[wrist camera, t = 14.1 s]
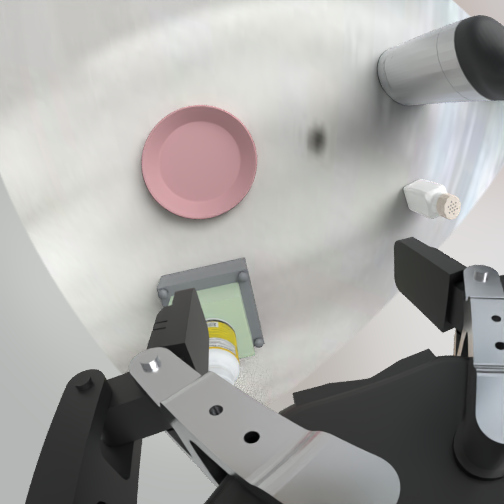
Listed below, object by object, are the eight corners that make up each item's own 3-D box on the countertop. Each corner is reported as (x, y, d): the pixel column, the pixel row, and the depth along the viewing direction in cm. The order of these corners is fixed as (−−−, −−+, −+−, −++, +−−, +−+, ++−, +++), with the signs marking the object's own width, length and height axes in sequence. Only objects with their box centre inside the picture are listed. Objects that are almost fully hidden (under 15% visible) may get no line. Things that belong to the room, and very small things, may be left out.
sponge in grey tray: (244, 257, 43) (250, 282, 36) (261, 328, 48) (268, 361, 40) (161, 276, 43) (151, 303, 36) (186, 343, 47) (181, 377, 40)
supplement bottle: (221, 357, 39) (223, 413, 30) (184, 340, 38) (177, 394, 29) (244, 328, 38) (252, 382, 29) (206, 308, 37) (203, 361, 27)
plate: (170, 91, 35) (168, 89, 33) (273, 132, 38) (276, 132, 37) (130, 192, 39) (126, 195, 37) (228, 231, 42) (229, 235, 40)
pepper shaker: (400, 186, 42) (438, 199, 33) (420, 177, 42) (460, 187, 33) (407, 210, 44) (444, 227, 35) (426, 200, 43) (465, 215, 34)
